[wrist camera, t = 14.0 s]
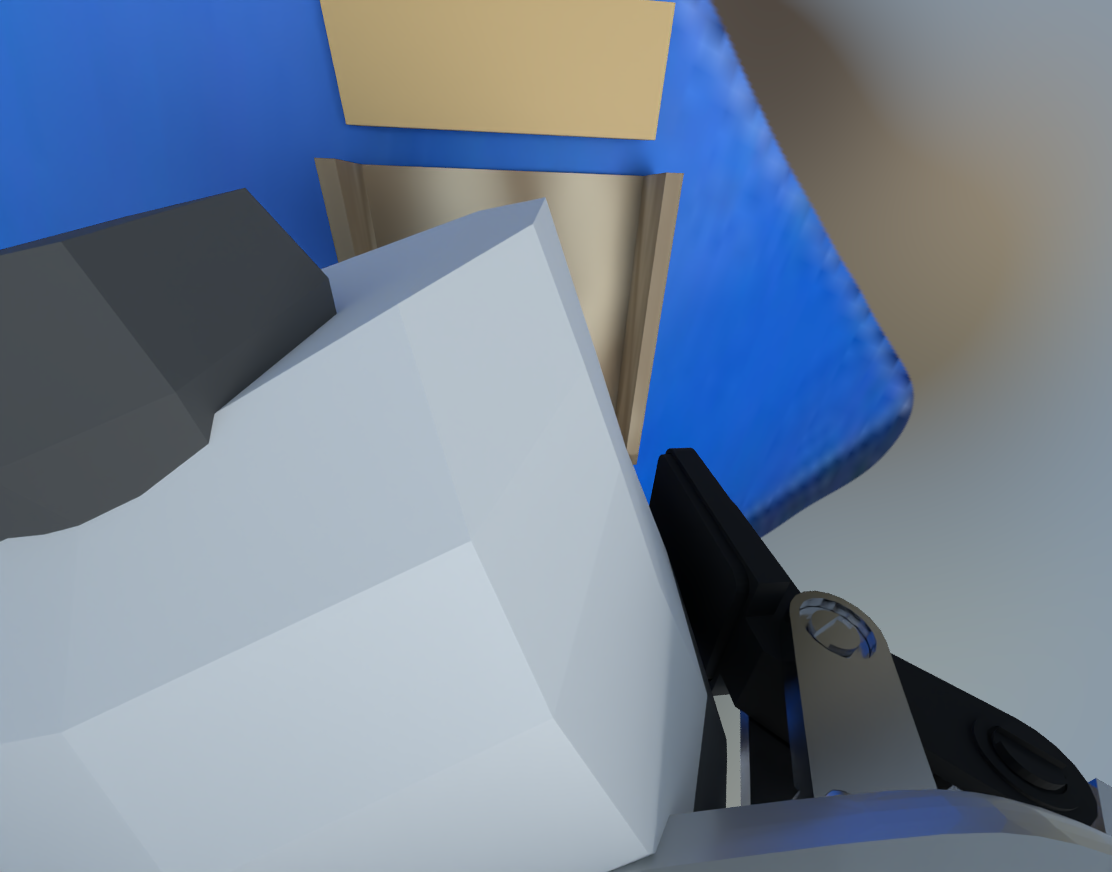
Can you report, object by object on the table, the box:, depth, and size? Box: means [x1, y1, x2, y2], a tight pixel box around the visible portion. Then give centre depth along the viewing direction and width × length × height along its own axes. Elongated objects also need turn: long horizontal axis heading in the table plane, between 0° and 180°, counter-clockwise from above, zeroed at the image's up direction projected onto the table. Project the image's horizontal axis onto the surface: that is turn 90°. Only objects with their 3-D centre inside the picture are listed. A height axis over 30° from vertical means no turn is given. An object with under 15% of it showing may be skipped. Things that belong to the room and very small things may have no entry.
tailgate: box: [320, 0, 675, 140], centre depth 17 cm, size 14×1×4 cm
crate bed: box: [314, 158, 684, 465], centre depth 23 cm, size 16×16×4 cm
